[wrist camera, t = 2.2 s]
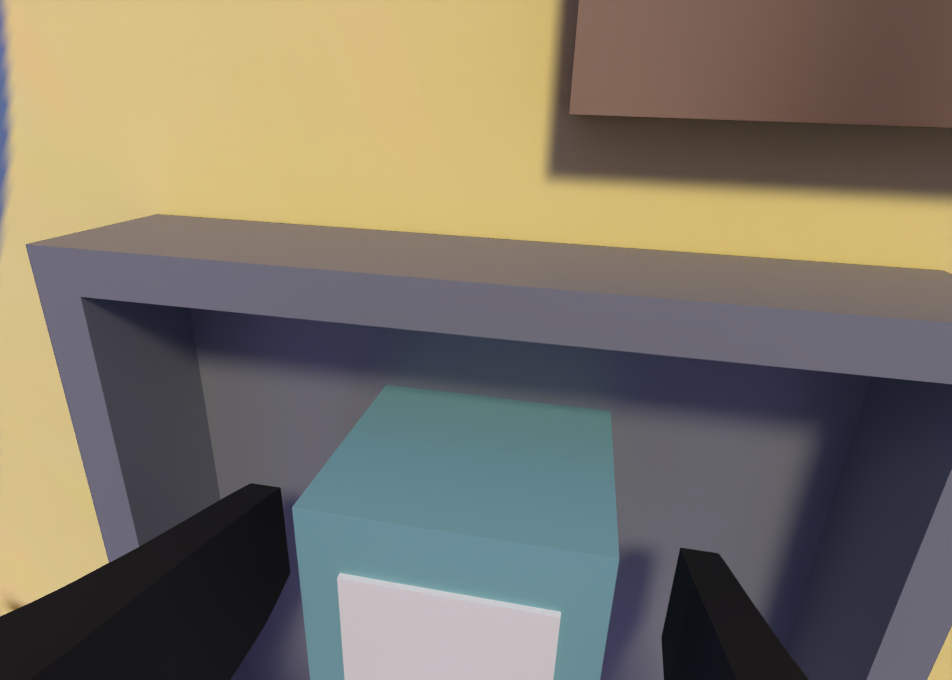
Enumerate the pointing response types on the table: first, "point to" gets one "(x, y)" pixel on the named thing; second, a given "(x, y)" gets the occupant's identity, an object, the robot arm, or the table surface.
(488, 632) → the labelled block
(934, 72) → the pad
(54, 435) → the table surface
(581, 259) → the bin
